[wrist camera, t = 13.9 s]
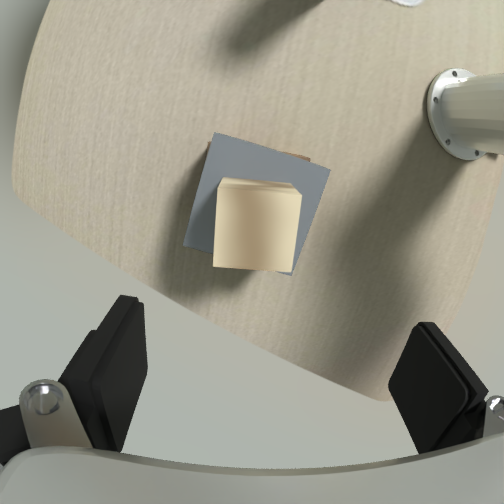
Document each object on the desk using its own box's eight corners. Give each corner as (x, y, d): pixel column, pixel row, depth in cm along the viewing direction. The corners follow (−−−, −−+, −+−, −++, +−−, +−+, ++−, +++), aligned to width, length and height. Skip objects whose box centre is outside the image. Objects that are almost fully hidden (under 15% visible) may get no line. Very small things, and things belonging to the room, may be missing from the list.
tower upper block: (317, 164, 30) (330, 169, 25) (284, 255, 33) (291, 275, 29) (218, 133, 29) (214, 132, 24) (191, 229, 32) (182, 245, 27)
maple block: (290, 183, 26) (302, 195, 20) (282, 246, 28) (291, 272, 22) (223, 177, 25) (217, 187, 20) (218, 241, 27) (212, 266, 22)
